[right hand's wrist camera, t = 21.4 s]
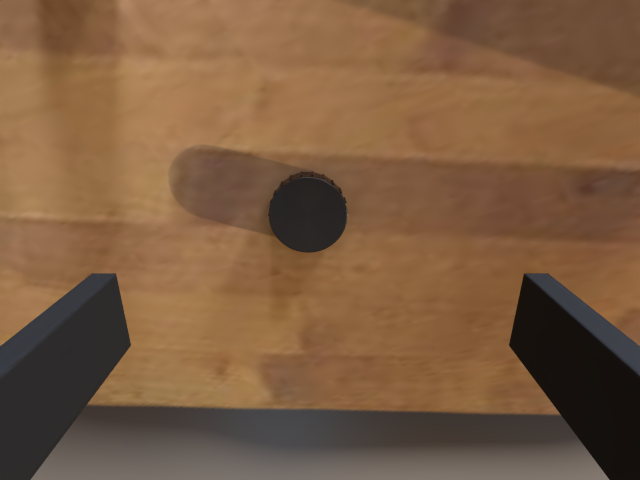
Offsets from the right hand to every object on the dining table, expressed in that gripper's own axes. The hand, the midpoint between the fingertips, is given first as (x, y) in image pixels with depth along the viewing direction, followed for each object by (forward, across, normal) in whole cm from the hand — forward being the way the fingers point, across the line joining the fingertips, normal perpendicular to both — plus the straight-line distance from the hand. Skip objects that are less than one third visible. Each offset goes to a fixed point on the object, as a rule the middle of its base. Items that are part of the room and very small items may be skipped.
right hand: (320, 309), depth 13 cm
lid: (+12, +1, 0) cm, 12 cm away
